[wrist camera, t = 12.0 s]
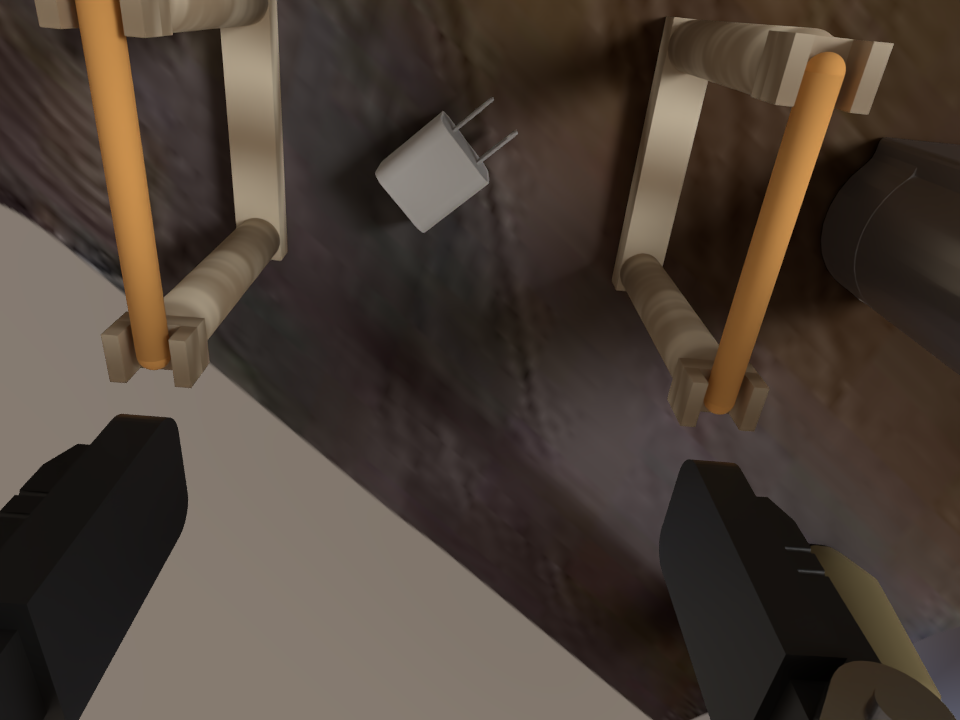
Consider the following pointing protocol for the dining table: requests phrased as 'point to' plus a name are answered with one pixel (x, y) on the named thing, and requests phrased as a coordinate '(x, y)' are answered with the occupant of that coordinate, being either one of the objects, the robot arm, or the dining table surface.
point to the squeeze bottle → (873, 614)
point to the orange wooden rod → (775, 226)
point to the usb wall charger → (435, 170)
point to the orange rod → (125, 175)
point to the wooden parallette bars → (649, 214)
